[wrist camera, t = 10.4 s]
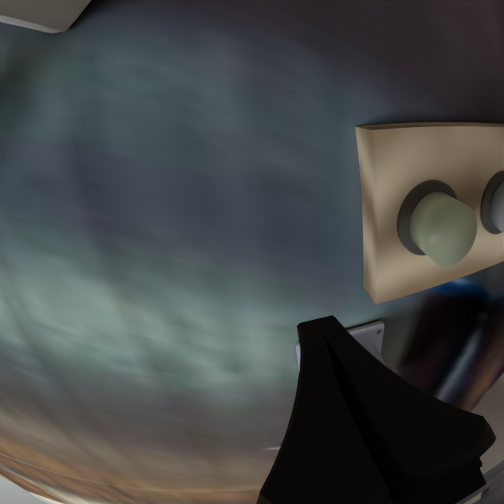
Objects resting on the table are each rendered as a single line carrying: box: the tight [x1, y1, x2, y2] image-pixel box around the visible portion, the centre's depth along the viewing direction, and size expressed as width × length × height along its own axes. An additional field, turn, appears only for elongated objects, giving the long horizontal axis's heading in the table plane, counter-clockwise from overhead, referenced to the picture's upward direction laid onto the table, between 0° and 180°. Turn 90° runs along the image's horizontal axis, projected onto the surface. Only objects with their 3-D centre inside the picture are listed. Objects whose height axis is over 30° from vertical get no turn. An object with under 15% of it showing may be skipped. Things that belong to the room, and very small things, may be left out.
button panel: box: [355, 122, 504, 305], centre depth 18 cm, size 12×24×3 cm, turn 101°
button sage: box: [410, 192, 477, 267], centre depth 16 cm, size 4×4×2 cm
